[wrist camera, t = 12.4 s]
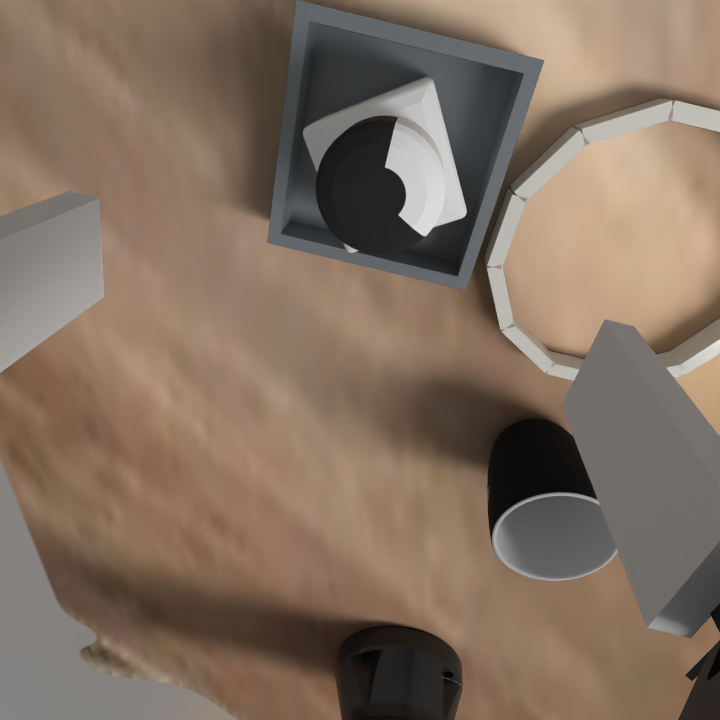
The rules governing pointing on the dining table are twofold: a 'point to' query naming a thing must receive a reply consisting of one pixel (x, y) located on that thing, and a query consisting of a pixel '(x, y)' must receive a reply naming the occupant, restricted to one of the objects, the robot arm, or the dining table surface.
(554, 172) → the ring holder
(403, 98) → the medicine bottle
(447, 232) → the tray
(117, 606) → the dining table surface
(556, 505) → the mug
